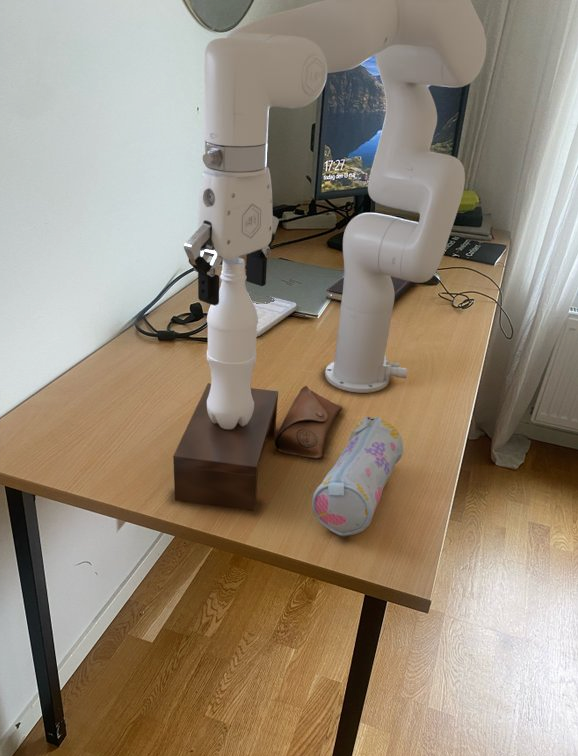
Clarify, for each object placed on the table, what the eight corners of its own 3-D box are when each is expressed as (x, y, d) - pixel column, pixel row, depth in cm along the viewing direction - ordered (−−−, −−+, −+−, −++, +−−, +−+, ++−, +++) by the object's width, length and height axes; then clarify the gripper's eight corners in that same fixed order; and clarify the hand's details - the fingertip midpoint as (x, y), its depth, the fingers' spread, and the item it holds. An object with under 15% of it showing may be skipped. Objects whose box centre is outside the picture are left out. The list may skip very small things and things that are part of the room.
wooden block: (275, 431, 114) (278, 391, 110) (254, 511, 96) (256, 466, 92) (207, 423, 116) (207, 383, 111) (174, 500, 98) (173, 456, 94)
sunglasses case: (324, 458, 107) (306, 424, 105) (286, 469, 110) (268, 436, 108) (343, 405, 121) (328, 374, 119) (309, 416, 125) (294, 386, 122)
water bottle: (219, 437, 98) (221, 272, 84) (199, 414, 103) (197, 255, 89) (261, 426, 101) (270, 265, 86) (240, 405, 106) (245, 249, 92)
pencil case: (348, 455, 109) (355, 405, 104) (400, 469, 106) (410, 419, 101) (305, 531, 93) (311, 477, 88) (365, 550, 90) (375, 495, 85)
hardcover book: (325, 298, 166) (326, 289, 164) (359, 272, 182) (360, 264, 181) (386, 312, 159) (388, 303, 158) (415, 284, 176) (417, 275, 175)
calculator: (206, 324, 151) (206, 316, 150) (250, 297, 165) (250, 290, 164) (257, 338, 145) (257, 330, 144) (298, 309, 159) (298, 302, 158)
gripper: (210, 173, 73) (210, 318, 83) (302, 153, 84) (292, 283, 94) (162, 162, 77) (167, 302, 87) (257, 144, 88) (252, 270, 98)
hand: (232, 292), depth 90 cm, fingers open, 9 cm apart
